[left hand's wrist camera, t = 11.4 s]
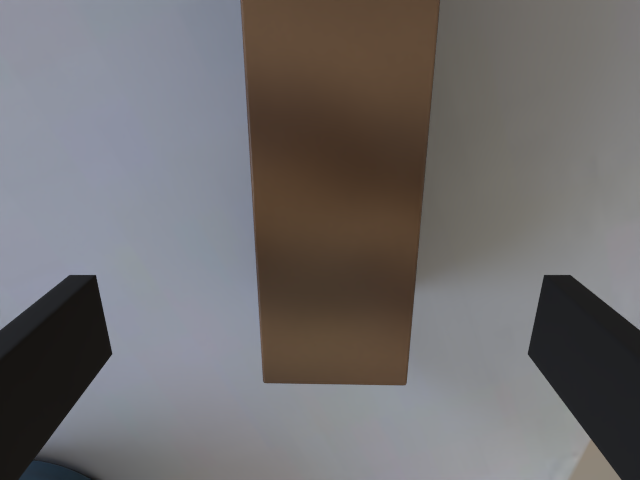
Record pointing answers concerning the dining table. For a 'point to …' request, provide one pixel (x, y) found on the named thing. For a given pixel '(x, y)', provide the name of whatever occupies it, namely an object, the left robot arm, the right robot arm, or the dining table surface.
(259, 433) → the dining table surface
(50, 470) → the canister
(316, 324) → the post
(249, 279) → the dining table surface
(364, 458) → the dining table surface
